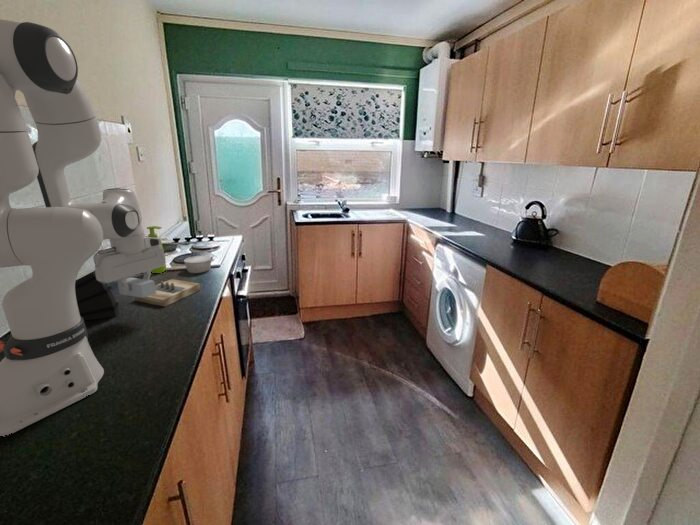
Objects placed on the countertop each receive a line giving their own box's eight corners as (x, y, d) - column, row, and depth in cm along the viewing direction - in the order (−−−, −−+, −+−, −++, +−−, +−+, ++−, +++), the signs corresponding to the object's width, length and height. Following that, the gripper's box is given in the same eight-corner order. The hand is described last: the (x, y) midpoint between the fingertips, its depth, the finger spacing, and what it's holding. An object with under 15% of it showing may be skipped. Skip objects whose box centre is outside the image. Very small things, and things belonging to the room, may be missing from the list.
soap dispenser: (164, 273, 145) (156, 228, 139) (148, 273, 145) (139, 228, 139) (171, 269, 151) (164, 225, 145) (156, 269, 151) (148, 225, 145)
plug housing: (156, 292, 105) (154, 280, 104) (143, 297, 101) (140, 285, 100) (133, 289, 108) (131, 277, 107) (119, 293, 104) (117, 281, 103)
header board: (164, 306, 114) (162, 293, 112) (135, 300, 119) (132, 287, 117) (200, 289, 128) (198, 277, 127) (172, 284, 133) (170, 273, 131)
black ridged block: (126, 311, 107) (92, 272, 101) (86, 332, 105) (49, 294, 99) (130, 306, 110) (97, 269, 104) (91, 327, 109) (56, 290, 103)
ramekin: (194, 265, 156) (193, 254, 155) (217, 266, 155) (216, 255, 153) (179, 273, 146) (178, 262, 144) (203, 275, 144) (202, 263, 143)
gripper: (100, 252, 90) (110, 301, 94) (165, 238, 108) (172, 279, 112) (84, 250, 92) (95, 298, 96) (151, 237, 111) (158, 277, 114)
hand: (137, 288), depth 104 cm, fingers closed on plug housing, 4 cm apart
